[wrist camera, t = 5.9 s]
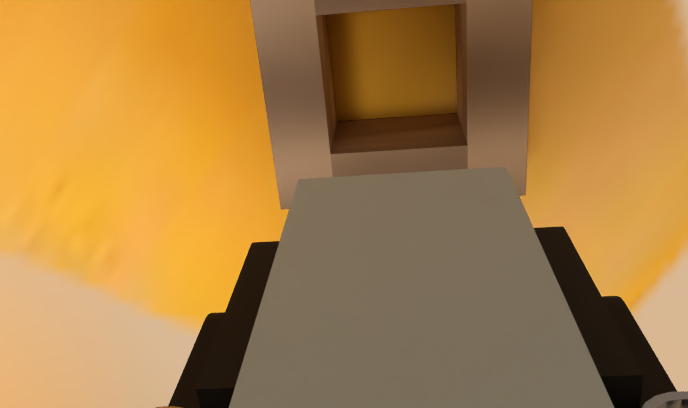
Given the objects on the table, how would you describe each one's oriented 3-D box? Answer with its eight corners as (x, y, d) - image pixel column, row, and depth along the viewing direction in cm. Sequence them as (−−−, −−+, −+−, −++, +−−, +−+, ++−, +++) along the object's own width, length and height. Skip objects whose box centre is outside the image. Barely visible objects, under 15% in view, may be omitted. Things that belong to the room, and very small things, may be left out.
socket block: (262, -56, 26) (243, -47, 23) (513, -80, 25) (535, -74, 22) (292, 171, 31) (281, 209, 27) (508, 157, 30) (525, 195, 26)
